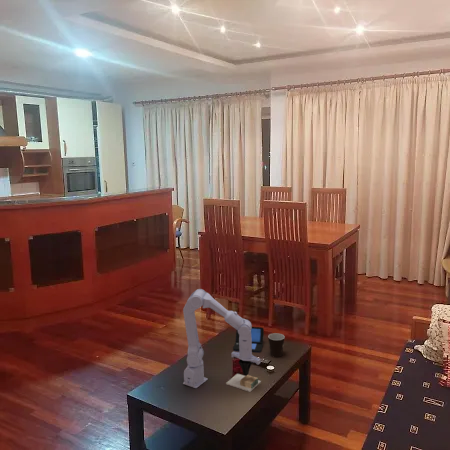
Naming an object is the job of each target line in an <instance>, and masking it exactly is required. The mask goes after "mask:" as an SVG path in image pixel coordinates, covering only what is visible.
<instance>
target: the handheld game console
mask: <svg viewBox="0 0 450 450" xmlns="http://www.w3.org/2000/svg"><path fill="white" fill-rule="evenodd" d="M264 330H265V329H264V327H261V326H252V328H251V338H252V353H261V352H262V350H263V347H264V333H265V331H264ZM232 350H233V351H234V352H239V333H238V330H236V329H235V342H234V344H233V347H232Z"/></svg>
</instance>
